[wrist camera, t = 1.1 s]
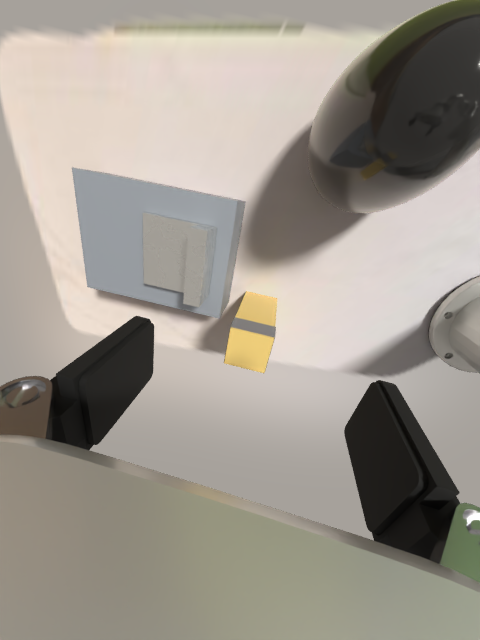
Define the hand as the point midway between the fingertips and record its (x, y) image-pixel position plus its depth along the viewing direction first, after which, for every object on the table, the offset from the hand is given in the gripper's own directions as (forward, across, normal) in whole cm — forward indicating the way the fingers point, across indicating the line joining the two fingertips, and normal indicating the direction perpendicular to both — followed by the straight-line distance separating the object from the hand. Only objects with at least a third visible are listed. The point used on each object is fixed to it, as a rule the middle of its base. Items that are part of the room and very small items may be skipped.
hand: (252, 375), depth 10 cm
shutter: (+15, +10, 0) cm, 18 cm away
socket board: (+20, +13, 0) cm, 24 cm away
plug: (+20, +1, +6) cm, 21 cm away
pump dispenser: (+21, -5, -12) cm, 24 cm away
